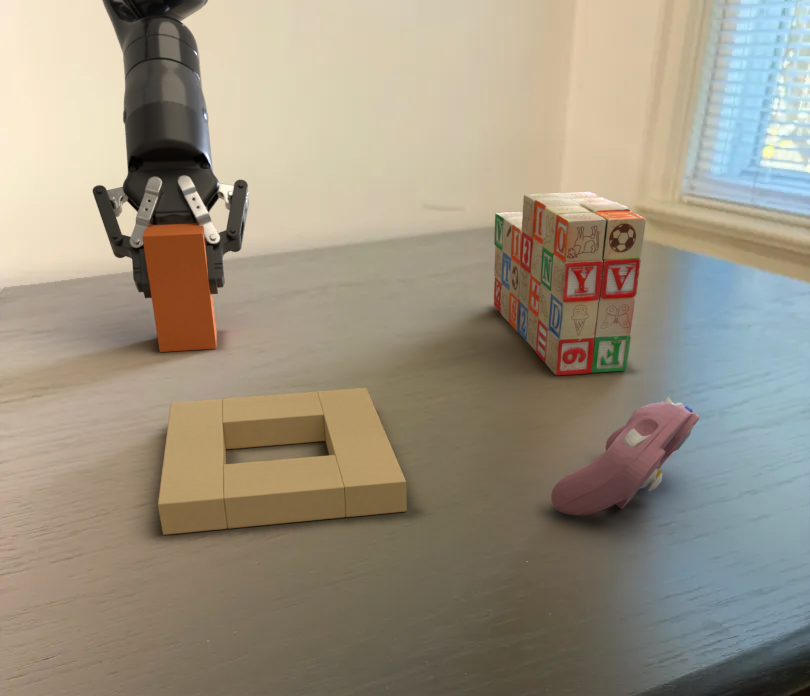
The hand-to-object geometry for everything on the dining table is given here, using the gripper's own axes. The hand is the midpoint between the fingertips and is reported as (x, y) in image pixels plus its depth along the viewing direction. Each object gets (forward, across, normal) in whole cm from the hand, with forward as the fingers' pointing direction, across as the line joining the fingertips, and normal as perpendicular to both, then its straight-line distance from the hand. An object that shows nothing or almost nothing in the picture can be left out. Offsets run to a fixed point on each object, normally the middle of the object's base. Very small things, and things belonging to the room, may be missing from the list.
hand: (180, 290), depth 78 cm
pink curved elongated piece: (+29, -27, +21) cm, 45 cm away
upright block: (+2, 0, -5) cm, 6 cm away
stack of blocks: (+6, -33, -1) cm, 34 cm away
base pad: (+23, -7, +16) cm, 28 cm away
